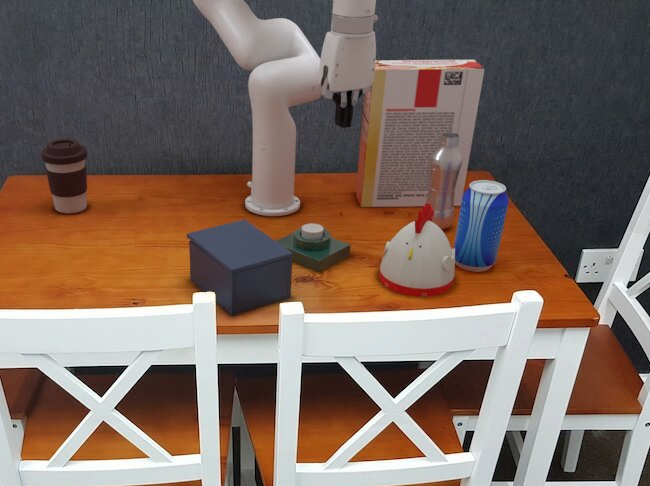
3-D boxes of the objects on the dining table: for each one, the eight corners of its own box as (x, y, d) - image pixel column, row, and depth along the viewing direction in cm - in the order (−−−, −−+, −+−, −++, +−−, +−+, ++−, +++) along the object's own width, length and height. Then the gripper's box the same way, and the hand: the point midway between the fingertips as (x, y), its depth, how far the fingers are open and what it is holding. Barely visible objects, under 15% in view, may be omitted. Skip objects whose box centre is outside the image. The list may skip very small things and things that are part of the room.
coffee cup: (40, 213, 177) (30, 147, 169) (64, 197, 185) (55, 133, 176) (78, 219, 174) (70, 153, 166) (100, 203, 182) (94, 139, 173)
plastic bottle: (452, 234, 167) (468, 141, 155) (420, 231, 168) (433, 139, 157) (451, 222, 172) (466, 131, 161) (420, 219, 173) (433, 129, 162)
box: (190, 280, 150) (188, 240, 146) (246, 265, 156) (246, 226, 151) (231, 315, 139) (231, 274, 135) (290, 298, 144) (292, 257, 140)
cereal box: (452, 192, 186) (474, 59, 169) (460, 205, 179) (484, 68, 162) (355, 193, 186) (367, 60, 169) (360, 206, 179) (374, 69, 162)
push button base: (272, 253, 160) (273, 233, 157) (304, 238, 166) (305, 218, 163) (318, 272, 153) (319, 251, 150) (349, 255, 159) (351, 235, 156)
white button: (296, 236, 157) (297, 228, 156) (310, 229, 159) (311, 221, 158) (313, 242, 154) (314, 234, 153) (327, 235, 157) (328, 227, 156)
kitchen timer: (367, 284, 148) (375, 210, 140) (394, 256, 158) (404, 185, 150) (438, 303, 142) (451, 226, 134) (462, 273, 152) (476, 200, 144)
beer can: (487, 277, 151) (504, 198, 142) (445, 267, 154) (458, 189, 145) (500, 260, 156) (516, 183, 147) (459, 251, 160) (472, 175, 151)
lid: (186, 237, 146) (186, 233, 145) (244, 222, 151) (244, 219, 151) (231, 273, 134) (231, 269, 134) (292, 256, 140) (292, 252, 139)
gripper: (373, 16, 147) (362, 114, 158) (306, 24, 141) (299, 125, 152) (398, 24, 142) (385, 125, 152) (329, 32, 136) (321, 137, 147)
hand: (342, 125), depth 152 cm, fingers closed
